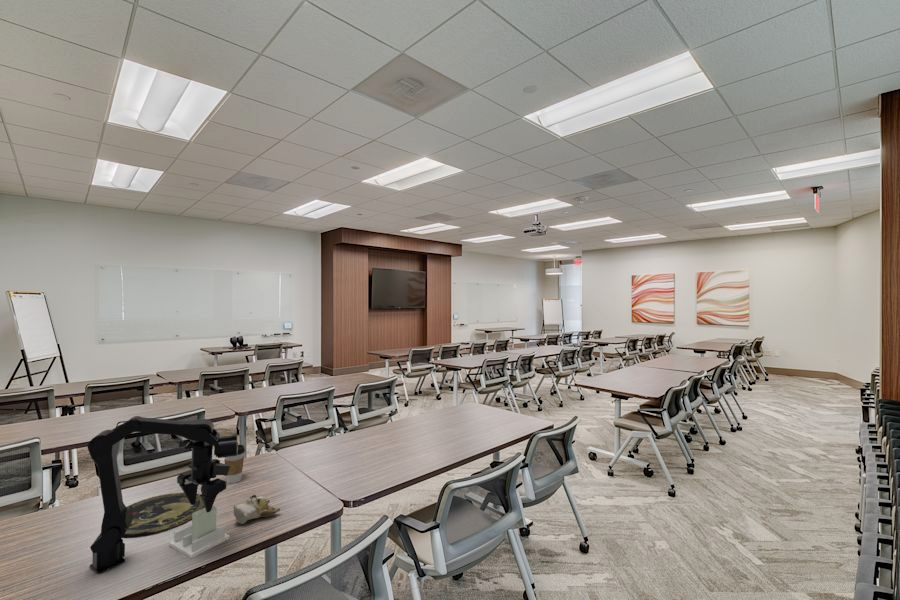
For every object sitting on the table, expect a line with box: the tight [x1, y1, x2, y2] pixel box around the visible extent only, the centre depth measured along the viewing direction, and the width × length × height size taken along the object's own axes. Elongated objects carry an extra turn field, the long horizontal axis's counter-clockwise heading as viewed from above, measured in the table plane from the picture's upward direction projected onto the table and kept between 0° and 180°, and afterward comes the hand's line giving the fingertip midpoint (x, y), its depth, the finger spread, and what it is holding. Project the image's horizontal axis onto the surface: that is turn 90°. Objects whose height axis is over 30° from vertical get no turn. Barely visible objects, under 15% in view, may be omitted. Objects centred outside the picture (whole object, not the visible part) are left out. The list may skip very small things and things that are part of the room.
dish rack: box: [168, 524, 230, 559], centre depth 129 cm, size 12×13×4 cm
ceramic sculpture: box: [233, 494, 281, 525], centre depth 144 cm, size 11×9×15 cm
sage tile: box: [191, 505, 218, 542], centre depth 127 cm, size 6×3×10 cm, turn 150°
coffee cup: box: [223, 444, 246, 484], centre depth 175 cm, size 8×8×15 cm
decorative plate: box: [121, 492, 205, 539], centre depth 146 cm, size 30×2×30 cm
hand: (200, 508), depth 127 cm, fingers open, 9 cm apart
